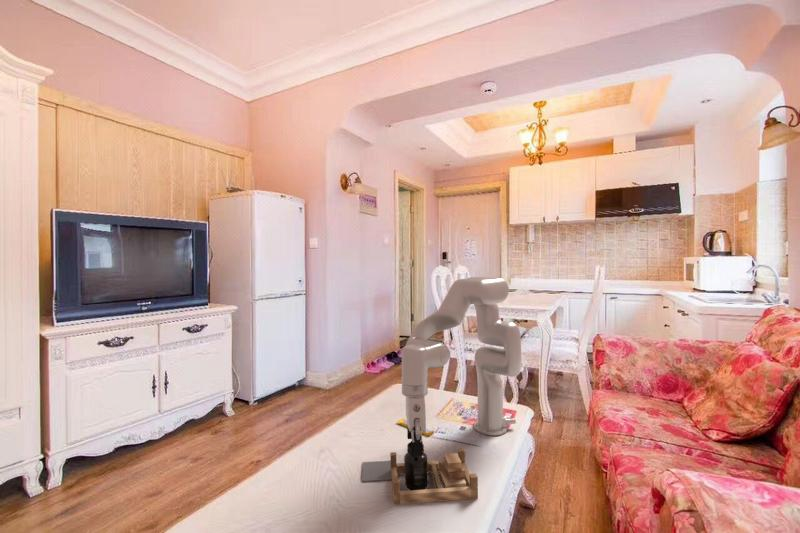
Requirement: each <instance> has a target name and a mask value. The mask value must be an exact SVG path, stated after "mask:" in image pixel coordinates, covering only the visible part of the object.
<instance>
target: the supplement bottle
mask: <svg viewBox="0 0 800 533" xmlns="http://www.w3.org/2000/svg"><path fill="white" fill-rule="evenodd" d="M406 445H407V446H406V447H407V449H406V453H405V455H404V457H403V459H404V461H403V463H404V467H405V474H404V485H405V487H406V489H407V490H408V491H409V490H424V489H427V487H428V485H429V472H428V462H429V461H428V455H427V453H426V452H425V446H424V444H423V455H422V456H411V441H410V442H408V443H407V444H406Z"/></svg>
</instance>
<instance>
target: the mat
mask: <svg viewBox="0 0 800 533" xmlns="http://www.w3.org/2000/svg"><path fill="white" fill-rule="evenodd" d="M361 466H362V468H361V469H362V470H361V482H362V483H372V482H388V481H391V482H392V474H391V462H390V460H379V461H362V465H361Z"/></svg>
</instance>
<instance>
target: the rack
mask: <svg viewBox="0 0 800 533" xmlns="http://www.w3.org/2000/svg"><path fill="white" fill-rule="evenodd" d="M457 454H458V456H459V458H460V460H461V462H462V467H463V468H464V470H465V479H464V480H465V482H466V487H454V488H443V485H442V483H441V480H440V477H439V475H438V467H439V461H440V460H432V461H430V460H429V461H428V473H431V476H432V480H433V483H434V488H428V489H427V488H426V489H424V490H409V489H408V490H401V480H400V478H399V477H398V475H405V467H404V462H399V463H398V462H397V461H398V460H397V452H395V451H393V452H391V451H390V455H389V456H390V458H389V459H390V460H389V461H390V462H391V474H392V480H391V482H392V483H391V485H392V498H393V499H392V500H393V505H401V504H412V503H413V504H415V503H427V502H444V501H460V500H470V499H471V500H477V499H479V491H478V490H479V488H478V485H479V484H478V483H479V482H478V481H479V480H478V479H479V478H478V475H477V473H471V472H470V471H469V469H468V467H467V464H466V450H465V448H463V447H462V448H460V447H459V448H457Z"/></svg>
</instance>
